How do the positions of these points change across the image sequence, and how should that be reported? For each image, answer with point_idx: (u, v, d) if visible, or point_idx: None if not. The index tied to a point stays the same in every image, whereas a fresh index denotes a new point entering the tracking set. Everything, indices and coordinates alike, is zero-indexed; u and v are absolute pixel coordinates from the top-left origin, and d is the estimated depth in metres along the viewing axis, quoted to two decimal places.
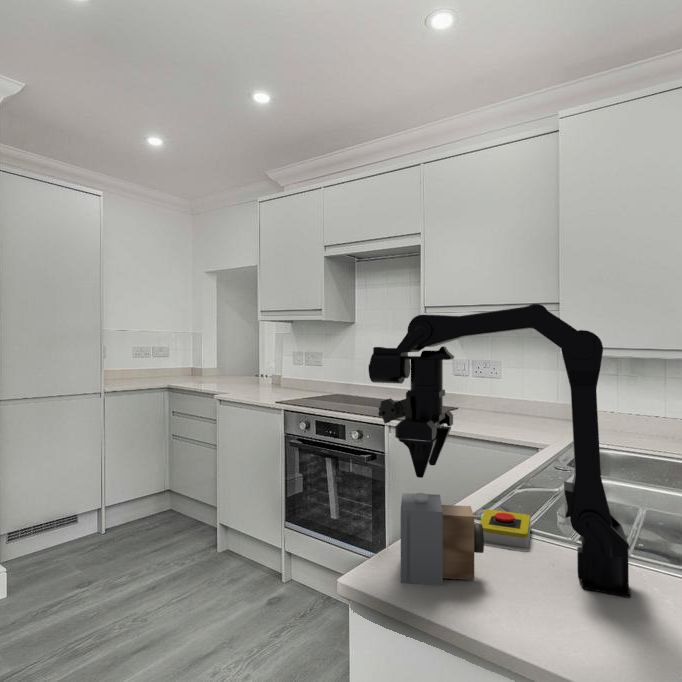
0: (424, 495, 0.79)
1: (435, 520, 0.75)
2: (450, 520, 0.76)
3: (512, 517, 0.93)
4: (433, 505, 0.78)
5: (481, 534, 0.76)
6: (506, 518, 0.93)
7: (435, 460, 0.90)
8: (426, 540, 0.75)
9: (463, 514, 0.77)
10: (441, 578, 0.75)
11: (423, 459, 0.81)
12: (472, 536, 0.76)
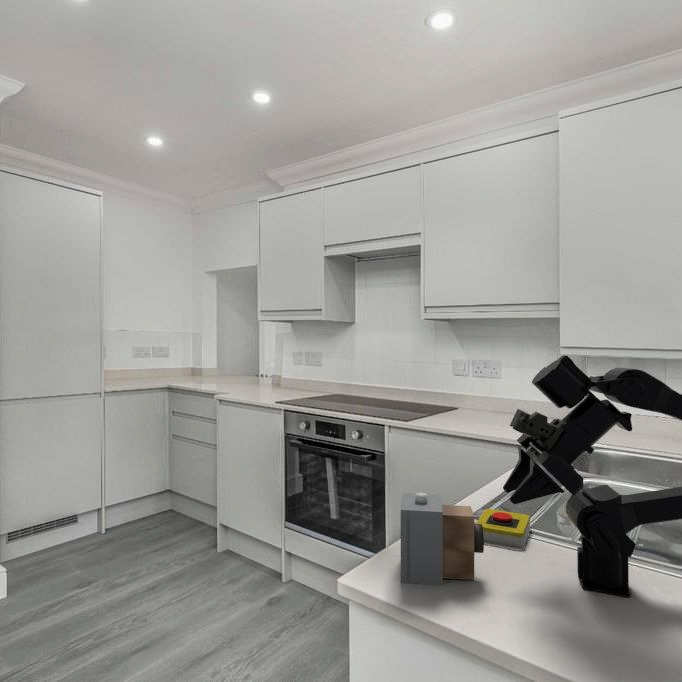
0: (424, 495, 0.79)
1: (435, 520, 0.75)
2: (450, 520, 0.76)
3: (509, 517, 0.94)
4: (433, 505, 0.78)
5: (481, 534, 0.76)
6: (503, 517, 0.93)
7: (512, 489, 0.80)
8: (426, 540, 0.75)
9: (463, 514, 0.77)
10: (441, 578, 0.75)
11: (533, 494, 0.73)
12: (472, 536, 0.76)
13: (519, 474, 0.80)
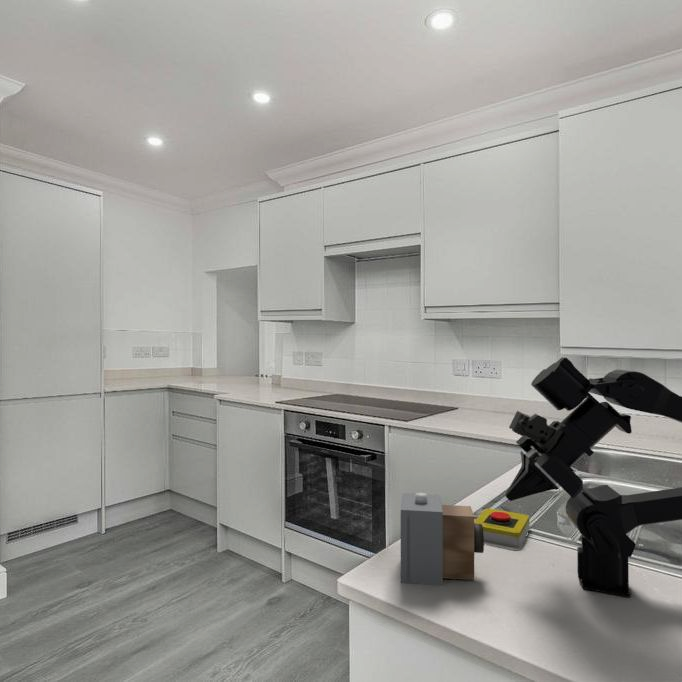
0: (424, 495, 0.79)
1: (435, 520, 0.75)
2: (450, 520, 0.76)
3: (507, 516, 0.94)
4: (433, 505, 0.78)
5: (481, 534, 0.76)
6: (501, 517, 0.94)
7: None
8: (426, 540, 0.75)
9: (463, 514, 0.77)
10: (441, 578, 0.75)
11: (529, 490, 0.76)
12: (472, 536, 0.76)
13: None
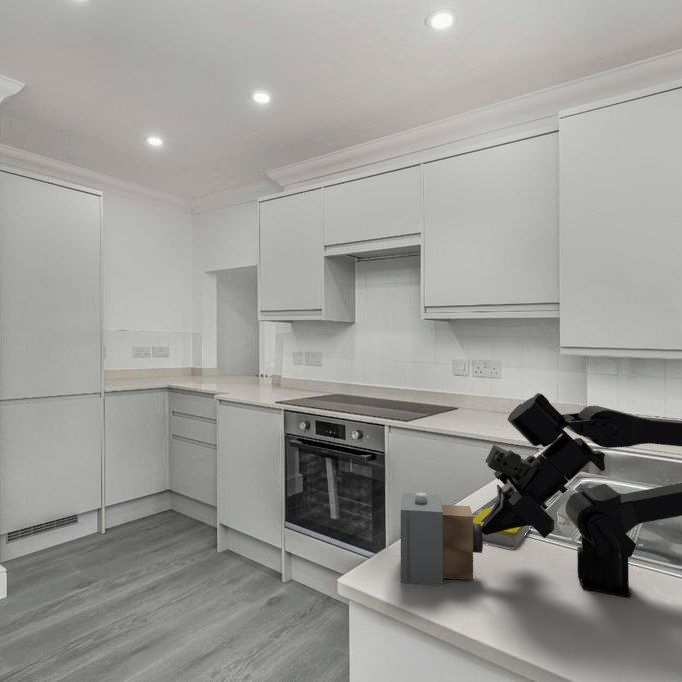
0: (424, 495, 0.79)
1: (435, 520, 0.75)
2: (448, 520, 0.76)
3: None
4: (433, 505, 0.78)
5: (480, 534, 0.76)
6: None
7: None
8: (426, 540, 0.75)
9: (462, 514, 0.77)
10: (441, 578, 0.75)
11: (503, 526, 0.76)
12: (471, 536, 0.76)
13: None
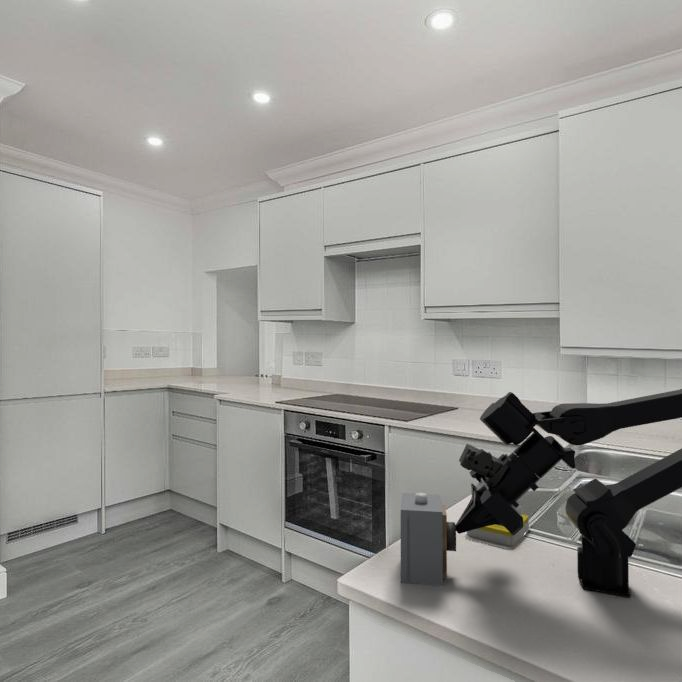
0: (424, 495, 0.79)
1: (435, 520, 0.75)
2: None
3: None
4: (433, 505, 0.78)
5: (454, 532, 0.77)
6: None
7: None
8: (426, 540, 0.75)
9: None
10: (441, 578, 0.75)
11: (476, 524, 0.77)
12: (445, 534, 0.76)
13: None
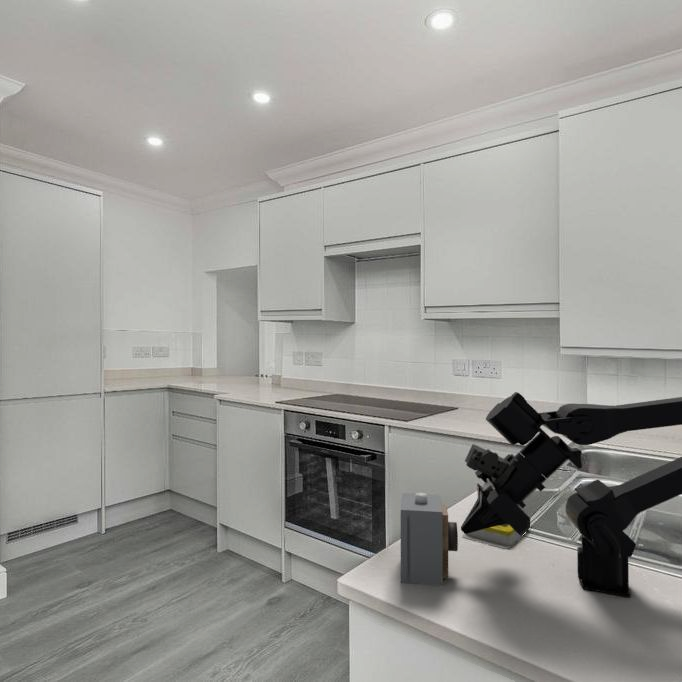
0: (424, 495, 0.79)
1: (435, 520, 0.75)
2: None
3: None
4: (433, 505, 0.78)
5: (455, 532, 0.77)
6: None
7: None
8: (426, 540, 0.75)
9: None
10: (441, 578, 0.75)
11: (483, 524, 0.77)
12: (446, 534, 0.76)
13: None
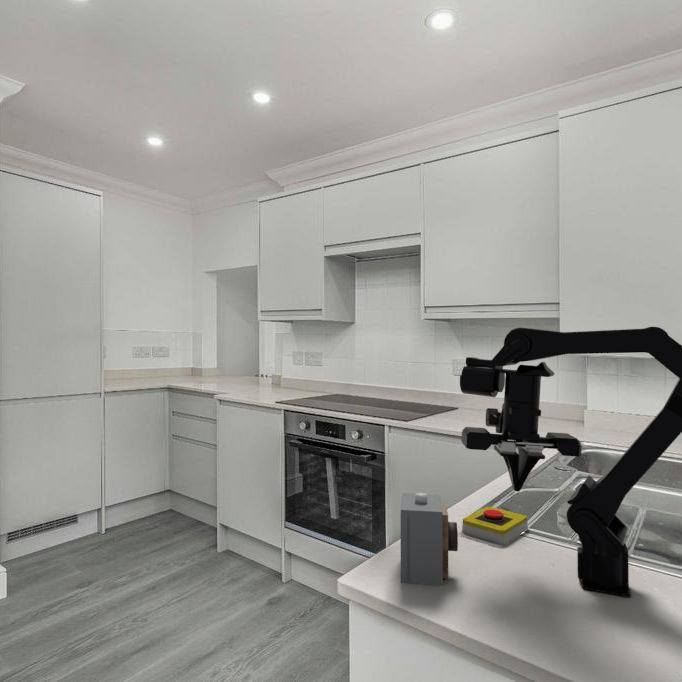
0: (424, 495, 0.79)
1: (435, 520, 0.75)
2: None
3: (499, 514, 0.95)
4: (433, 505, 0.78)
5: (455, 532, 0.77)
6: (492, 515, 0.95)
7: None
8: (426, 540, 0.75)
9: None
10: (441, 578, 0.75)
11: (510, 472, 0.82)
12: (446, 534, 0.76)
13: (518, 469, 0.83)
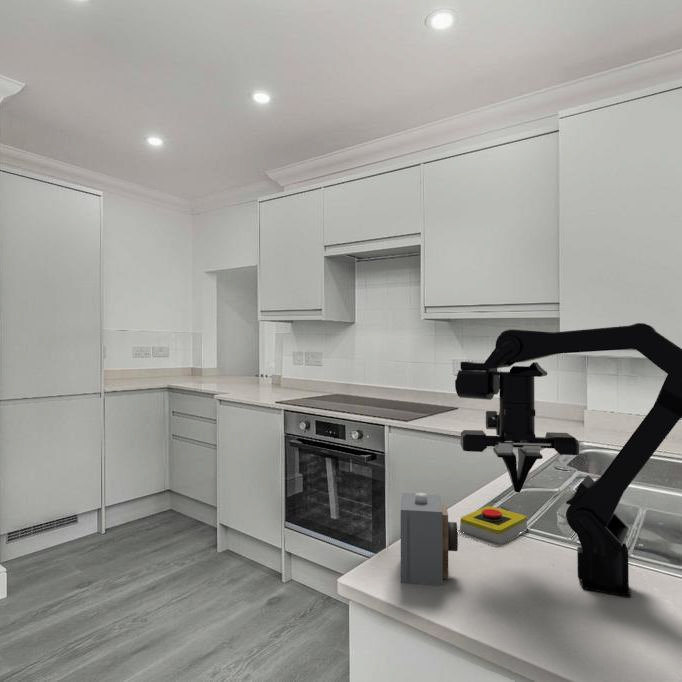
0: (424, 495, 0.79)
1: (435, 520, 0.75)
2: None
3: (497, 514, 0.95)
4: (433, 505, 0.78)
5: (455, 532, 0.77)
6: (490, 514, 0.95)
7: None
8: (426, 540, 0.75)
9: None
10: (441, 578, 0.75)
11: (509, 473, 0.82)
12: (446, 534, 0.76)
13: (518, 470, 0.83)
